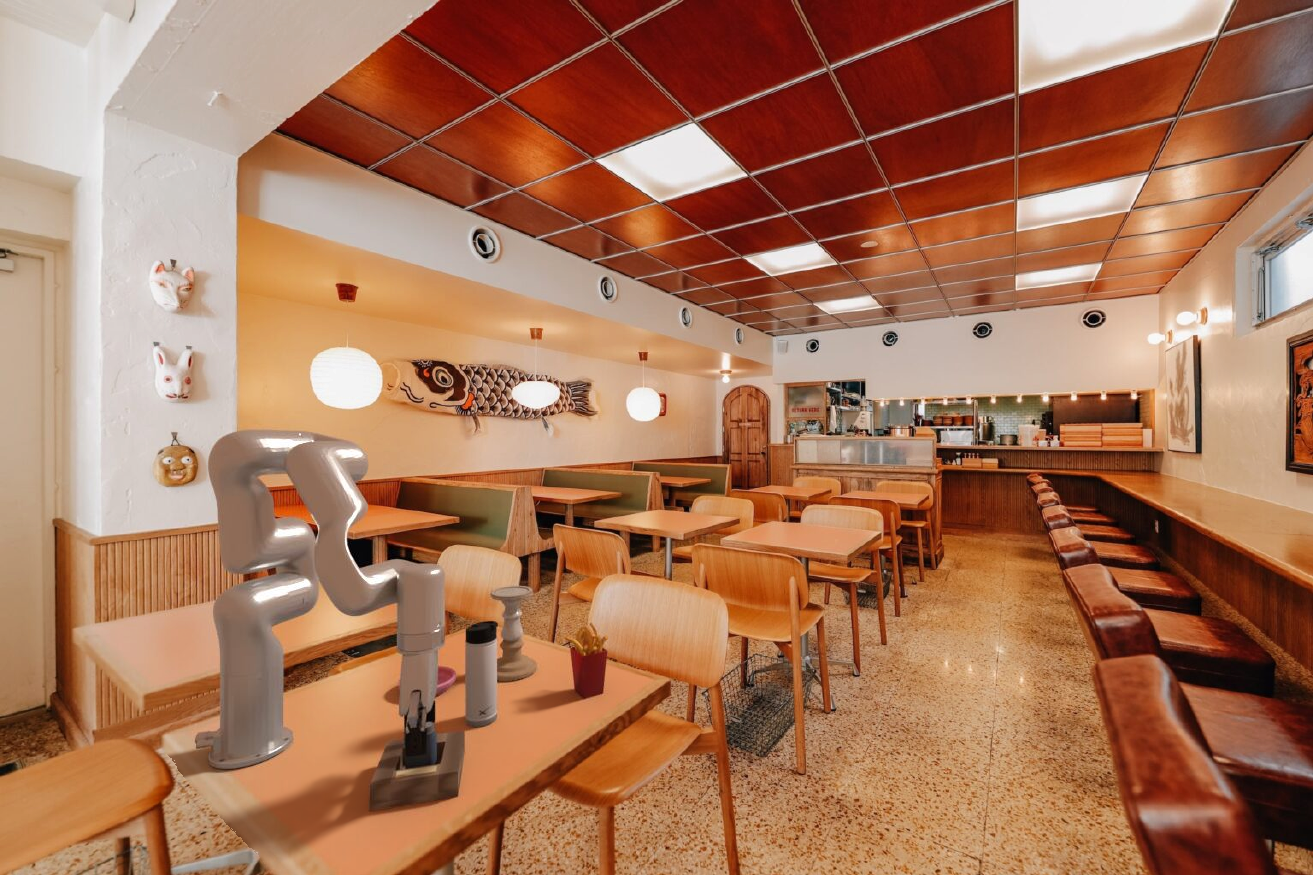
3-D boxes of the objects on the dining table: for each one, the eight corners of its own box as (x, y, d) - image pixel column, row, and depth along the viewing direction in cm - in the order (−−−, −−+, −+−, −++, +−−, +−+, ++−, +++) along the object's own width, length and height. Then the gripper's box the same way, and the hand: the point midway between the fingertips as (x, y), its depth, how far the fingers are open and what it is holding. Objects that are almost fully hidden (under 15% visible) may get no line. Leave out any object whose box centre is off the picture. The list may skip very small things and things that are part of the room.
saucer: (462, 693, 124) (462, 679, 124) (403, 708, 117) (403, 693, 117) (449, 674, 134) (449, 661, 134) (394, 687, 127) (394, 673, 127)
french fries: (609, 693, 123) (608, 627, 123) (576, 703, 118) (576, 635, 118) (590, 679, 130) (590, 617, 130) (559, 688, 125) (559, 624, 125)
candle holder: (522, 657, 144) (521, 581, 144) (546, 671, 135) (546, 591, 135) (477, 670, 135) (477, 590, 136) (500, 686, 126) (500, 600, 127)
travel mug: (489, 728, 108) (488, 628, 108) (459, 725, 109) (459, 626, 109) (504, 713, 114) (503, 618, 114) (475, 710, 115) (475, 617, 115)
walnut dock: (369, 810, 84) (369, 783, 84) (387, 763, 96) (388, 739, 96) (458, 796, 87) (458, 770, 87) (464, 751, 100) (464, 729, 100)
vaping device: (408, 768, 93) (407, 699, 93) (439, 767, 93) (438, 698, 93) (401, 778, 90) (400, 706, 90) (433, 776, 91) (432, 705, 90)
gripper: (406, 623, 99) (406, 717, 99) (385, 660, 83) (385, 772, 82) (450, 620, 101) (450, 711, 101) (438, 654, 85) (438, 764, 84)
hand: (421, 738), depth 92 cm, fingers open, 9 cm apart
